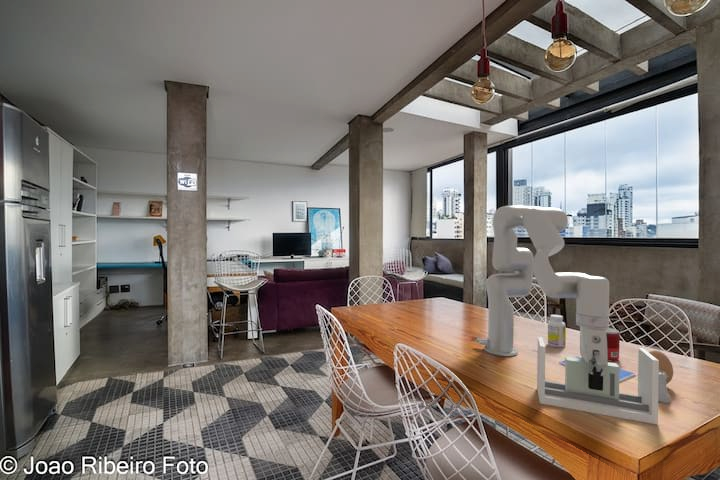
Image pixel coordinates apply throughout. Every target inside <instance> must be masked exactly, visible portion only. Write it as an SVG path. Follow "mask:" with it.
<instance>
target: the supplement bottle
mask: <svg viewBox="0 0 720 480" xmlns="http://www.w3.org/2000/svg"><path fill="white" fill-rule="evenodd" d="M563 320H564V316H563V315H560V314H550V320H549V321H548V322H547V344H548V345H549V346H551V347H555V348H565V347H566V344H567V343H566V334H567V333H566V331H567V330H566V328H567V326H566V323H565V321H563Z"/></svg>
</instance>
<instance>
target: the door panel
mask: <svg viewBox="0 0 720 480" xmlns="http://www.w3.org/2000/svg"><path fill="white" fill-rule="evenodd" d="M580 358H581V357H580ZM580 358H574V357H572V356H565V359H564V360H565V365H564V368H565V369H564V373H565V374H564V384H565V391H568V392H574V393H580V394H586V395H592V396H598V397H605V398H611V399H617V400H619V393H620V382H619V369H620V366H619V365H618V363H617V362H616V363H615V362H611V361H608V366H607V367H604V366H603V365H602V369H603V390H602V391H600V390H594V389H589V387H588V373H590V370H589V365H588V364H587V363H586V362H585V361H584V359H580ZM593 367H595V366H592V369H593Z"/></svg>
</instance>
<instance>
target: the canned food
mask: <svg viewBox="0 0 720 480" xmlns="http://www.w3.org/2000/svg"><path fill="white" fill-rule="evenodd" d="M605 330H606V337H607V355H608V362H617V361H619V359H620V340H621V339H620V336H621V335H620V331H619V330H618V329H616V328H611V327H609V329H605Z"/></svg>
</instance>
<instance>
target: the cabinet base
mask: <svg viewBox="0 0 720 480" xmlns="http://www.w3.org/2000/svg"><path fill="white" fill-rule="evenodd" d="M649 352H650V351H648V350H646V349H645V348H644V347H643V348H642V347H638V352H637V354H638V355H637V357H638V360H637V361H638V362H637V365H638V366H637V395H636V394H630V393H623V392H619V400H617V399H611V398H605V397H598V396H592V395H586V394H580V393H574V392H568V391H565V383H560V382H555V381H554V382H553V381H547V380H546V344H545V342H544V338H543V337H542V336H537V357H536V359H537V360H536V361H537V362H536V363H537V364H536V368H537V370H536V391H537V395H538V401H539V404H542V405H549V406H554V407H560V408H564V409H570V410H575V411H576V410H577V411H581V412H585V413H592V414H598V415H604V416H607V417H614V418H619V419H626V420H630V421H634V422H640V423H646V424H652V425H659V402H658V378H659V360H657V359H656V358H655V357H654V356H652V355H651V354H650V353H649Z"/></svg>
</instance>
